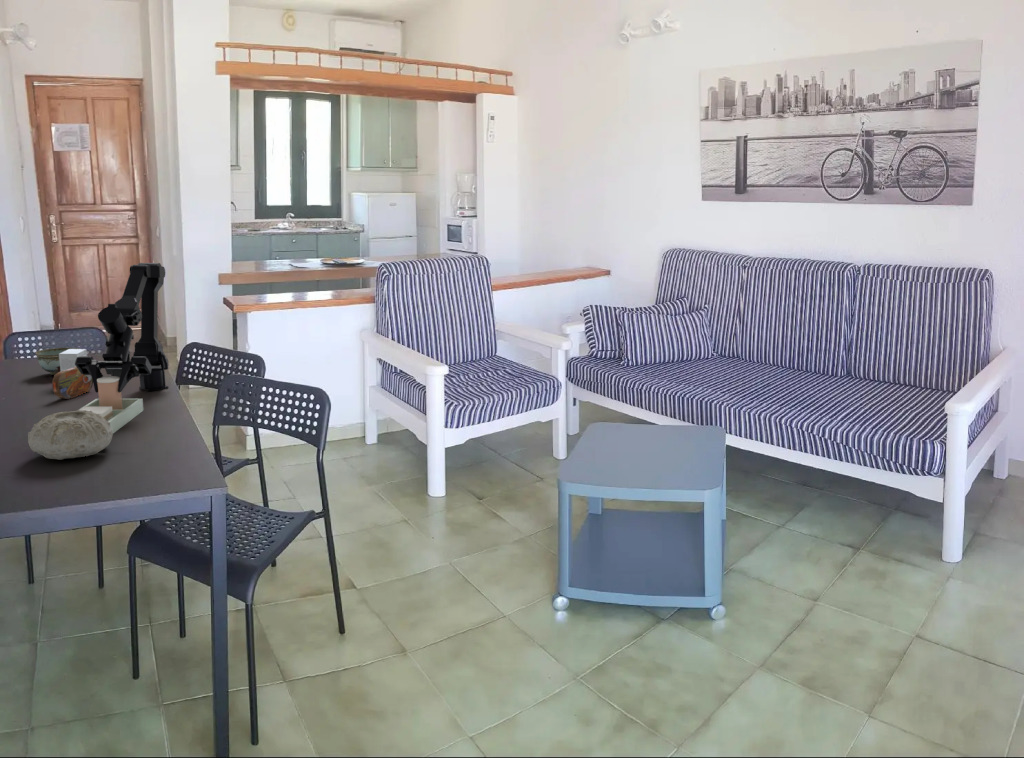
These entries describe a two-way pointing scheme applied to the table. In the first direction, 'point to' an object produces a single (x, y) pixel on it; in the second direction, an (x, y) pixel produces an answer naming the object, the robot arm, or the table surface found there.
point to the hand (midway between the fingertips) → (107, 391)
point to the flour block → (101, 411)
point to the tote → (122, 412)
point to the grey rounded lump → (70, 435)
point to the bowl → (50, 359)
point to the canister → (109, 392)
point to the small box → (70, 358)
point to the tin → (71, 383)
